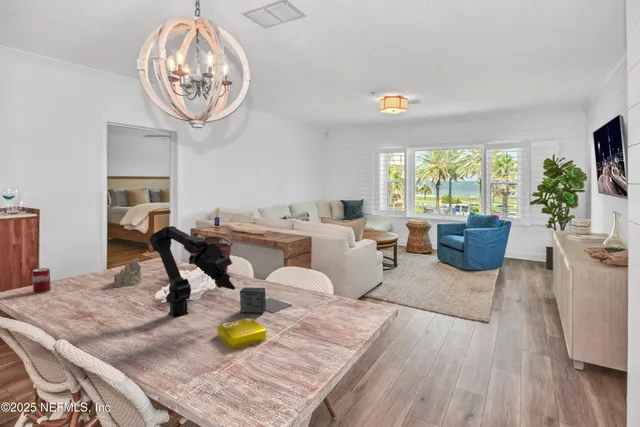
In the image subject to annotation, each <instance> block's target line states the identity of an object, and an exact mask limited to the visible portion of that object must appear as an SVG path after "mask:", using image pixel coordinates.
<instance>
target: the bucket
mask: <svg viewBox="0 0 640 427" xmlns="http://www.w3.org/2000/svg"><path fill="white" fill-rule="evenodd" d="M201 238H203V239H205V238H219V239H222V240H224V241H225V242H213V243H215V246H218V247H219V248H220V249H221V251H222V255H224V256H226V255H227V256H229V257H230V256H231V251H232V250H231V248H232V246H233V245H234V243H233V242H232V241H231V239H229V238H227V237H225V236H221V235H217V234H216V235H214V234H213V235H212V234H211V235H205V236H203V237H201ZM207 243H208V244H211V243H212V242H207ZM229 243H230V244H229ZM198 253H201V252H198ZM198 253H193V255H196V254H198ZM230 258H231V257H230ZM216 261H218V259H217V260H215V262H216ZM228 266H229V265H228ZM228 266H226V267H225V268H223V269H224V270H225V272H226V273H227V274H228Z"/></svg>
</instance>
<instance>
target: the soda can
mask: <svg viewBox="0 0 640 427" xmlns="http://www.w3.org/2000/svg"><path fill="white" fill-rule="evenodd" d="M31 277H32V280H31V281H32V292H33V294H36V295H41V294H45V293H49V292H50V291H51V290H52V289H51V288H52V287H51V272H50V268H48V267H44V268H43V267H42V268H36V269H33V270H32V271H31Z"/></svg>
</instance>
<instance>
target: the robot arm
mask: <svg viewBox="0 0 640 427" xmlns="http://www.w3.org/2000/svg"><path fill="white" fill-rule="evenodd" d="M172 240H174V241H175V242H177V243H179V244H180V245H182V246H183V249H184V250H186V252H188V254H191V255H190V256H189V258H188V264H189V265H191V264H194V265H195V266H196V268H197V267H199V268H200V269H201V270H202V271H204V273H205V274H207V275H208V276H210V277H211V278H210V279H211V280H212V281H214V284H215V286H216V287H218V288H219V289H220V288H225V289H227V290H228V289H229V290H233V291H234V290H235V289H236V286H235V285H234V284H233V282H231V280H230V278H231V276H230V274H229V273H228V272H227V273H226V272H225V270H224V269H223V268H225V267H226V266H231V265H232V264H233V262H232V259H231V257H229V256H227V255H226V256H224V255H222V251H221V249H220V248H219V247H218V246H215V243H214V242H210V243H211V244H208V243H209V242H208V241H207V242H206V240H205V238H202V237H199V236H193V235H189V234H188V233H186V232H184V231H182V230H180V229H178V228H177V227H176V226H173V225H171V226H165V227H163V228H161V229H160V230H158V231H156V232H154V233H152V234H151V235H150V236H149V240H148V241H149V244H150V245H151V247H152V249H153V250H154V251H156V252H158V254H159V256H160V259H161V262H162V265H163V267H164V268H165V272H166V275H167V277H168V279H169V285H168V291H169V292H168V294H166V296H165V300H166V302H167V303H168V304H169V312H168V313H167V314H168V315H170V316H172V317H174V318H178V317H181V316H184V315H189V311H188V301H187V300H189V299H190V297H191V292H192V288H191V284H190V281H189V279H188V278H183V277H182V275H181V272H180V270H179V267H178V264H177V262H176V261H175V258H174V254H173V252H172V250H171V246H172ZM198 252H201V253H198ZM194 253H198V254H196V255H194ZM217 259H218V261H216V262H215V260H217Z"/></svg>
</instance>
